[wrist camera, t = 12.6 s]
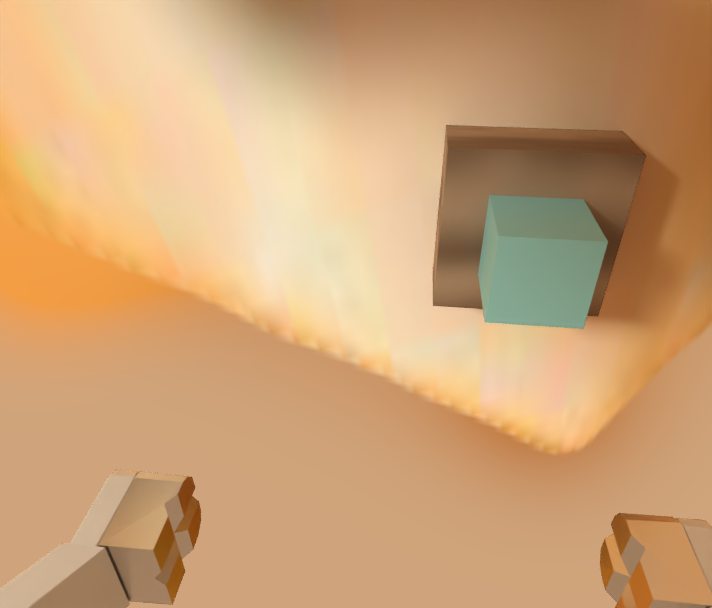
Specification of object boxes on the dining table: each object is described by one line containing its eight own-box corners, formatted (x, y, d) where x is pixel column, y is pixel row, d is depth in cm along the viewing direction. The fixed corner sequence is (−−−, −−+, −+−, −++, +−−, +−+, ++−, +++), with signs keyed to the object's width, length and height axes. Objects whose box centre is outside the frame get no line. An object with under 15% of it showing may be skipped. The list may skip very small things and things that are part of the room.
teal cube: (489, 194, 36) (498, 236, 32) (583, 199, 36) (607, 241, 31) (478, 273, 40) (484, 322, 35) (564, 278, 39) (583, 328, 34)
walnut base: (446, 125, 39) (448, 147, 35) (622, 131, 38) (645, 155, 34) (432, 272, 46) (432, 305, 42) (582, 281, 45) (598, 316, 41)
